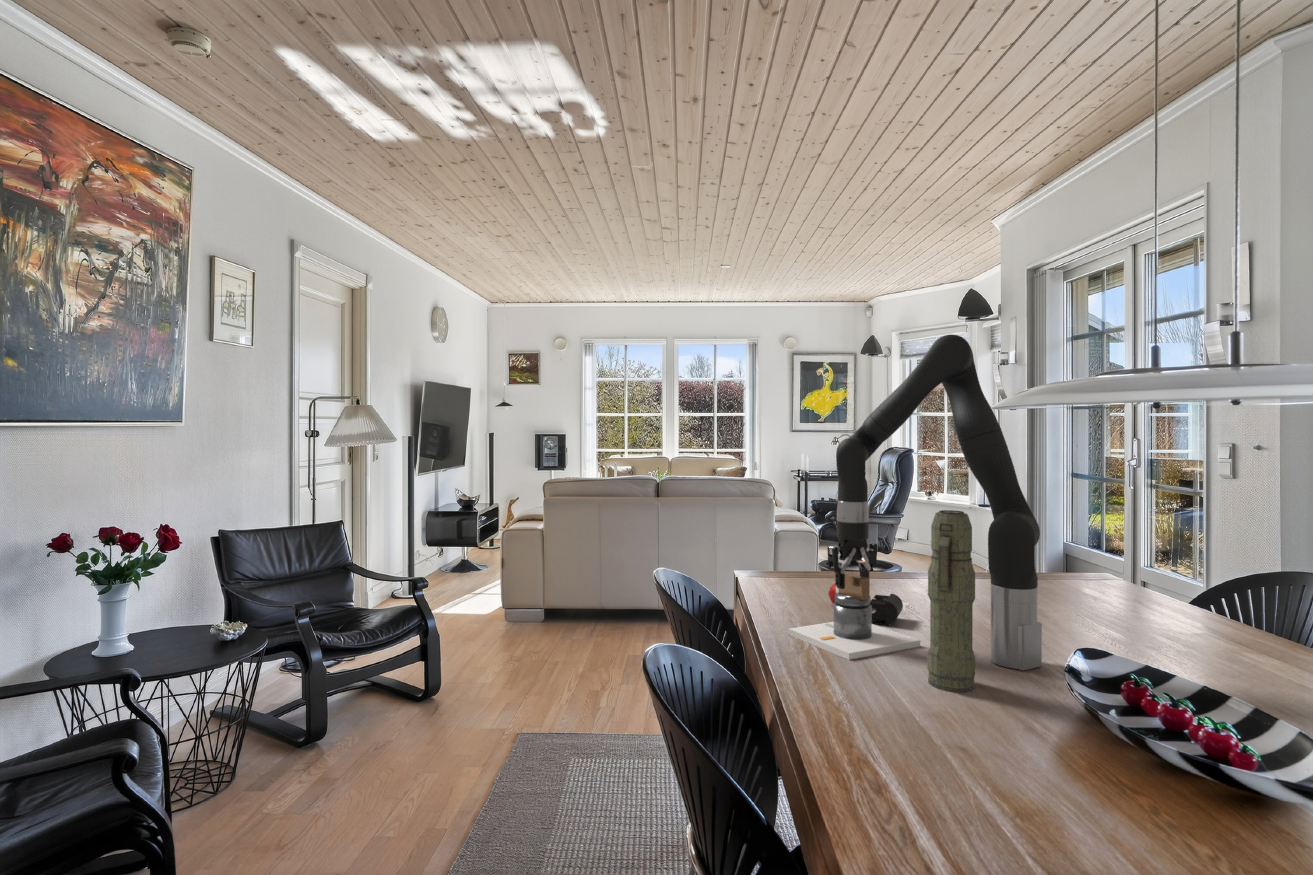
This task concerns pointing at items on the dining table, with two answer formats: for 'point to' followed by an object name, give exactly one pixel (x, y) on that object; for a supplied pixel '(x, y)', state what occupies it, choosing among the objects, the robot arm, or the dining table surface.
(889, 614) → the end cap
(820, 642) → the lock base
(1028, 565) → the robot arm
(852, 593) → the lock lever handle
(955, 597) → the thermos
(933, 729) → the dining table surface
